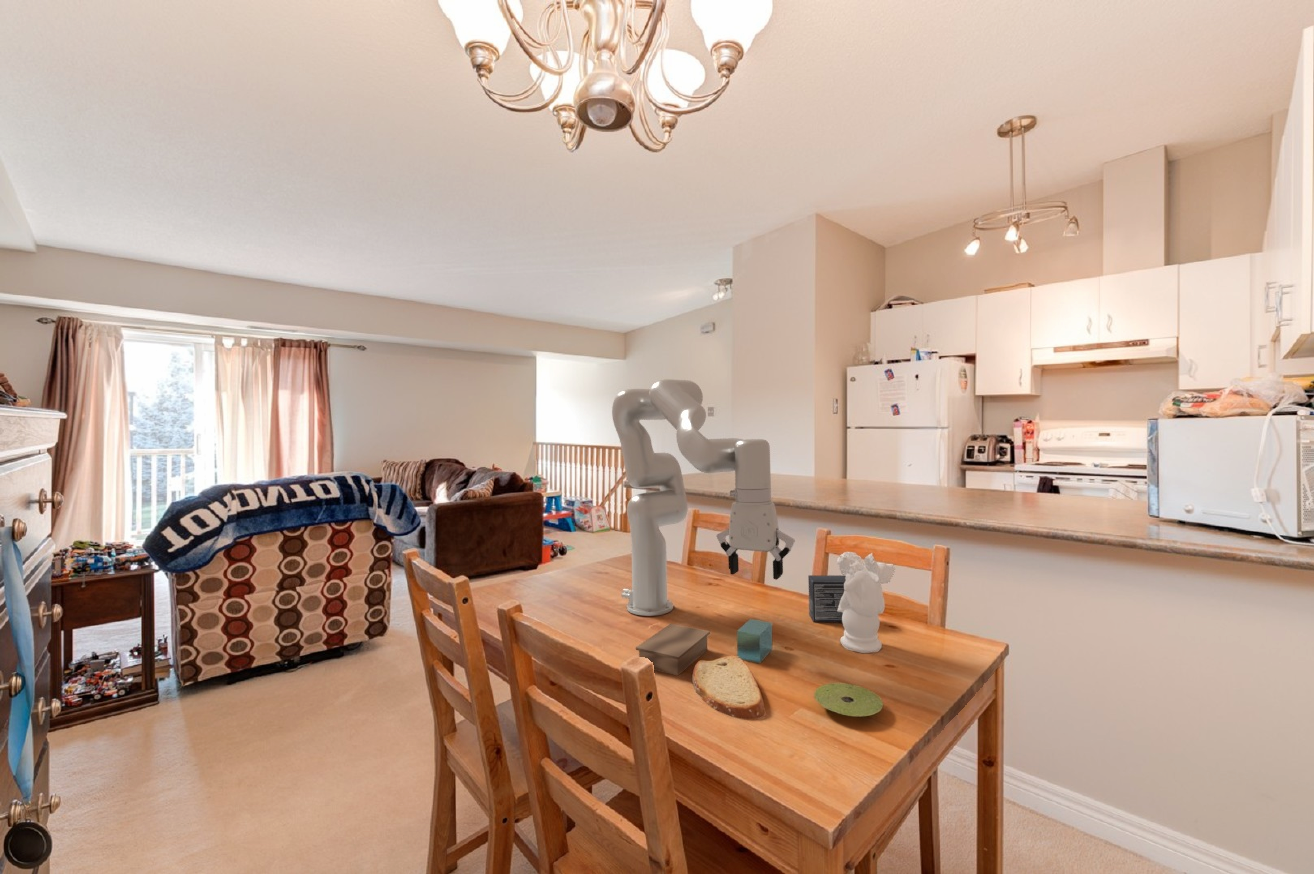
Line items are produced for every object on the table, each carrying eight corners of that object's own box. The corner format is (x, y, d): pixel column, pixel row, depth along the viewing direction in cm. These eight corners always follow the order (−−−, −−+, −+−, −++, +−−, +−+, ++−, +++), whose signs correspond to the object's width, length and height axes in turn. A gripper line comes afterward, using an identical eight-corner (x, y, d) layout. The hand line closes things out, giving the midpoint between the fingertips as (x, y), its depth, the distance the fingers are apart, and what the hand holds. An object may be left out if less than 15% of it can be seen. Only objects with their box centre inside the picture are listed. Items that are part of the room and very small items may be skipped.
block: (737, 658, 114) (737, 630, 114) (750, 645, 121) (750, 618, 121) (759, 663, 112) (759, 635, 112) (772, 649, 119) (771, 622, 119)
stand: (636, 666, 111) (635, 647, 111) (670, 640, 124) (670, 623, 124) (678, 677, 106) (678, 657, 106) (710, 649, 119) (710, 631, 119)
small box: (849, 614, 139) (849, 574, 139) (856, 623, 133) (856, 581, 133) (808, 613, 140) (807, 573, 140) (813, 622, 134) (812, 581, 134)
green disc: (829, 686, 101) (829, 676, 101) (891, 705, 94) (891, 694, 94) (803, 711, 93) (803, 700, 93) (870, 735, 86) (870, 723, 86)
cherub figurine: (832, 637, 125) (830, 543, 125) (883, 634, 126) (881, 541, 126) (856, 658, 113) (854, 554, 113) (912, 655, 114) (910, 552, 114)
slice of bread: (757, 726, 89) (757, 704, 89) (665, 698, 99) (665, 678, 99) (792, 681, 104) (792, 662, 104) (709, 661, 114) (709, 643, 114)
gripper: (709, 497, 117) (711, 575, 117) (787, 500, 108) (790, 584, 108) (723, 493, 123) (725, 567, 124) (798, 495, 115) (800, 575, 115)
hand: (755, 575), depth 116 cm, fingers open, 9 cm apart
